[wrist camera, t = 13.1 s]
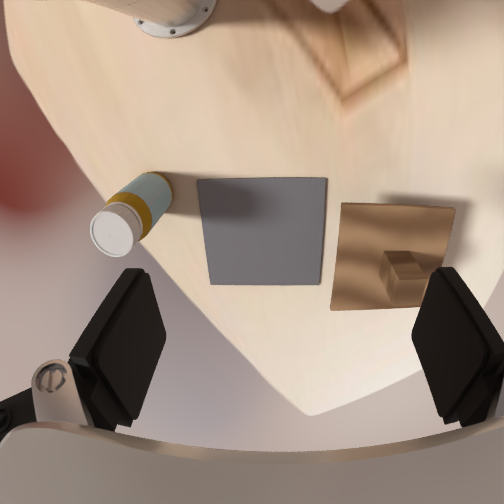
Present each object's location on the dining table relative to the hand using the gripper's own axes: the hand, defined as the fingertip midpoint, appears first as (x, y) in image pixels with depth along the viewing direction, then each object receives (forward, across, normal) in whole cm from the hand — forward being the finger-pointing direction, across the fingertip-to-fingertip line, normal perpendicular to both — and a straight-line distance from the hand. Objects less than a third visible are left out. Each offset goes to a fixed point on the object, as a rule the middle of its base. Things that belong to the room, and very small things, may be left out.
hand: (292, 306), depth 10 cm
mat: (+36, +3, +16) cm, 40 cm away
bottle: (+36, +20, +8) cm, 42 cm away
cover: (+29, -16, +16) cm, 36 cm away
